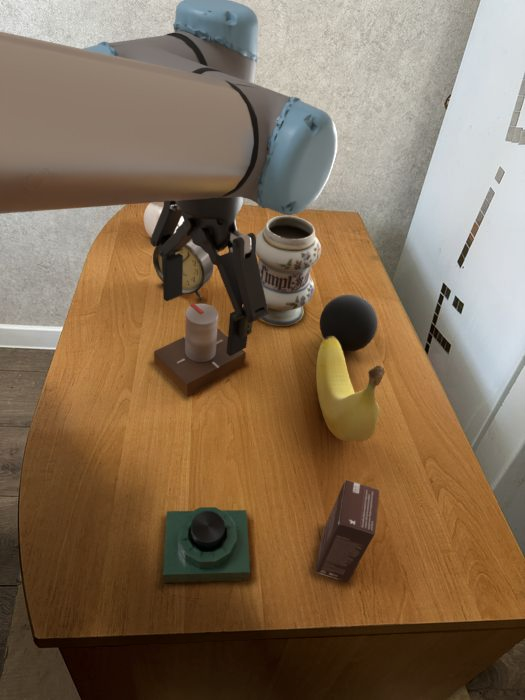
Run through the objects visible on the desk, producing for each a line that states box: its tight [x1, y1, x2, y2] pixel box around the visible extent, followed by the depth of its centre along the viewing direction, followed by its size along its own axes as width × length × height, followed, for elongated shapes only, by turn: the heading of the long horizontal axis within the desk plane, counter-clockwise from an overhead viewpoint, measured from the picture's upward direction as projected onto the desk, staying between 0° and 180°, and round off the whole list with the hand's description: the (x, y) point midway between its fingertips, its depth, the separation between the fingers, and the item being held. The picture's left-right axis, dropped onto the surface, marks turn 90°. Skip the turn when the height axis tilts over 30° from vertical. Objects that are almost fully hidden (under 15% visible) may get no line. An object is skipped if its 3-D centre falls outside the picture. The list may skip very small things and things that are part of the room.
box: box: [315, 479, 380, 583], centre depth 62 cm, size 6×4×12 cm
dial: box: [184, 302, 219, 362], centre depth 84 cm, size 5×5×8 cm
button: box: [191, 511, 225, 551], centre depth 62 cm, size 4×4×2 cm
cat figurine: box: [143, 202, 184, 238], centre depth 111 cm, size 9×12×15 cm
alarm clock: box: [152, 225, 214, 301], centre depth 97 cm, size 11×5×16 cm, turn 65°
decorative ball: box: [319, 294, 379, 353], centre depth 93 cm, size 10×10×10 cm
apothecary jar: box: [255, 215, 322, 327], centre depth 95 cm, size 12×12×18 cm
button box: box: [162, 506, 251, 584], centre depth 64 cm, size 10×8×4 cm
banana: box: [315, 336, 386, 443], centre depth 77 cm, size 23×6×20 cm, turn 4°
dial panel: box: [153, 328, 247, 397], centre depth 87 cm, size 12×9×3 cm
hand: (203, 322), depth 71 cm, fingers open, 13 cm apart
